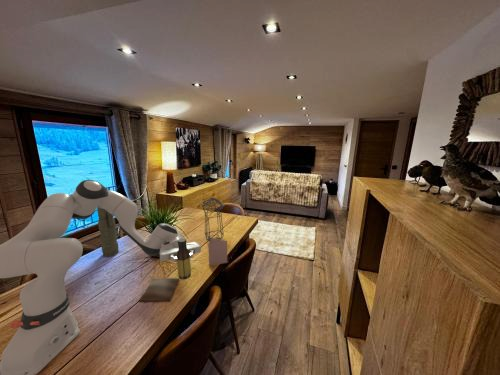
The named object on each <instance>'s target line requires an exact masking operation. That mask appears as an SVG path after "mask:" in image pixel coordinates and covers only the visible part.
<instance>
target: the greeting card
mask: <svg viewBox="0 0 500 375" xmlns="http://www.w3.org/2000/svg"><path fill="white" fill-rule="evenodd" d="M210 242H211V243H210ZM210 242H209V243H208V266H209V265H211V266H216V264H217V265H222V264H227V263H228V240H222V239H221V240H218V239H216V238H213V237H210Z"/></svg>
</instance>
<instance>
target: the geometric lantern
mask: <svg viewBox="0 0 500 375" xmlns="http://www.w3.org/2000/svg"><path fill="white" fill-rule="evenodd" d="M217 204H219V205H220V206H218V207H217V206H216V205H217ZM200 205H201V207H202V210H203V212H204V236H205V239H206V241H208V242H209V241H210V238H211V233H215V232H217V233H216V234H214V235H212V237H213V236H214V237H216V235H217V237H216V238H215V239H218V240H222V239H223V238H224V233H223V232H224V226H223V224H222V223H223V219H222V218H223V216H222V213H223V212H222V211H223V208H224V207H225V204H223V203H222V201H221V200H220V199H217V198H215V197H210V198H208V199H206V200H204V201H203V202H201V203H200ZM211 205H212V206H211ZM213 210H215V211H213ZM220 211H221V212H220ZM209 213H210V215H209V216H208V215H207V214H209ZM213 213H216V215H217V216H216V219H217V220H216V222H217V223H219V228H220V229H216V230H213V231H211V230H210V228H208V226H210V219H212V218H214V216H211V215H212V214H213ZM219 221H220V222H219ZM219 235H220V236H219ZM218 237H219V238H218ZM210 243H211V242H209V244H210Z"/></svg>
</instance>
